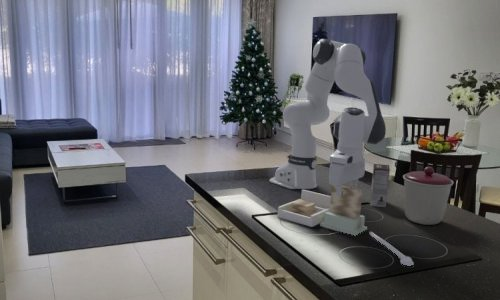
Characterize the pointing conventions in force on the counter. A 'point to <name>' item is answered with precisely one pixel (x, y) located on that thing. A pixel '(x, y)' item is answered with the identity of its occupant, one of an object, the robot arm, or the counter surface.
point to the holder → (343, 223)
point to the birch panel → (347, 203)
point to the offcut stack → (303, 208)
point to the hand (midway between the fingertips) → (345, 193)
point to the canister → (426, 196)
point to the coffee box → (379, 185)
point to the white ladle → (394, 251)
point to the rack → (321, 207)
